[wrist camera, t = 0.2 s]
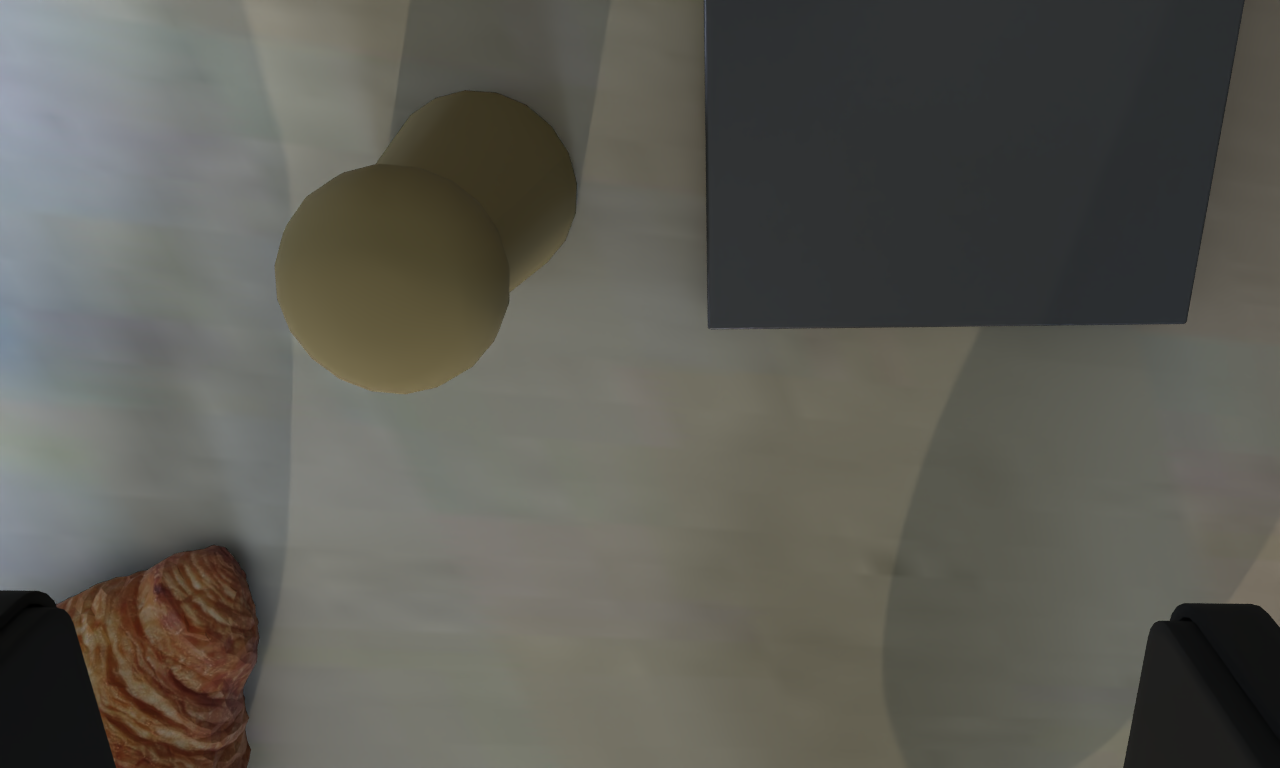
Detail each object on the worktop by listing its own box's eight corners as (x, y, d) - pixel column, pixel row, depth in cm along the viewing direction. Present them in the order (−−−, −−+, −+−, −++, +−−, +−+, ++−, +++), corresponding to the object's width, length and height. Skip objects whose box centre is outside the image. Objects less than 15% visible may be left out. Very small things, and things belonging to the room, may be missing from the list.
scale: (687, -275, 27) (683, -304, 24) (1265, -308, 26) (1343, -343, 22) (697, 310, 33) (695, 349, 30) (1161, 303, 32) (1211, 344, 29)
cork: (403, 290, 33) (268, 440, 23) (367, 98, 31) (199, 174, 21) (587, 277, 33) (530, 426, 23) (564, 81, 30) (489, 150, 20)
